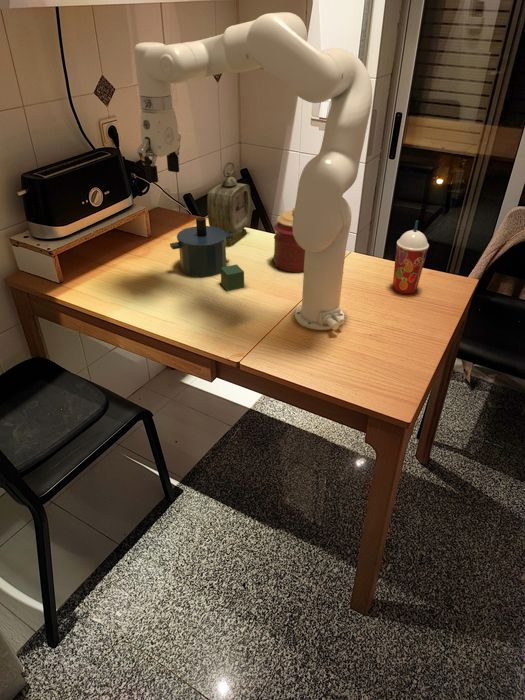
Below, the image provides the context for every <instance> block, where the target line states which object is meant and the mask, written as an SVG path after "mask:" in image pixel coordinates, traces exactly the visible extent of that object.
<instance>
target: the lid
mask: <svg viewBox="0 0 525 700" xmlns="http://www.w3.org/2000/svg"><path fill="white" fill-rule="evenodd" d="M195 225H196V226H195ZM195 225H194V226H190V227H187V228H184V229H182V230H179V232H178V233H177V234H176V240H177V242H180V243H181V244H184V245H187V246H192V247H208V246H214V245H217V244H220V243H222V242H224V241H225V242H226V238H227V234H226V232H225V231H224V230H222V229H220V228H217V227H212V226H209V225H207V219H206V217H204V216H199V217H196V218H195Z"/></svg>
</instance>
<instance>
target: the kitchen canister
mask: <svg viewBox="0 0 525 700" xmlns="http://www.w3.org/2000/svg"><path fill="white" fill-rule="evenodd" d="M294 210H295V207H294V208H292V210H288V211H285V212H283V213H281V214H280V215H278V217H277V219H276V221H277V222H276V223H275V224H274V225H273V226H274V230H275V234H274V235H273V239H274V245H273V246H274V248H273V262H274V265H275V267H276V268H278V269H280V270H282V271H285V272H293V273H299V272H304V260H305V250H304V249H303V248H301V247H300V246H299V245H298V243H297V242H296V240H295V238H294V235H293V228H292V226H293V217H294Z"/></svg>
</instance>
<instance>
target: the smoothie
mask: <svg viewBox="0 0 525 700" xmlns="http://www.w3.org/2000/svg"><path fill="white" fill-rule="evenodd" d="M418 225H419V220H416V221H415V222H414V228H413V229H411V230H407V231H405V232H404V233H403V234H402V235H400V238H399V239H397V241H396V248H395V258H394V268H393V278H392V285H393V288H394V290H395V291H397V292H399V293H401V294H411V293H414V292H415V291H416V289H417V288H418V286H419V282H420V279H421V276H422V271H423V268H424V264H425V260H426V257H427V253H428V250H429V247H430V244H429V243H428V239H427V237H426V235H425V234H424V233H423V232H421V231H420V230H418Z"/></svg>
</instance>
